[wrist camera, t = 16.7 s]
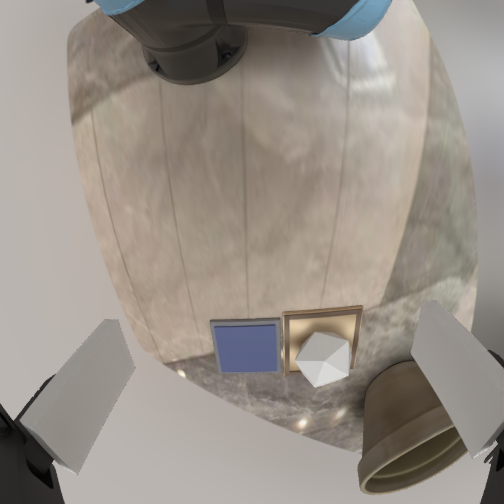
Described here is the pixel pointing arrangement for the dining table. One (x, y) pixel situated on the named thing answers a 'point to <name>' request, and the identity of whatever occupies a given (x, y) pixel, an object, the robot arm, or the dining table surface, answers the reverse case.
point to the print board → (322, 320)
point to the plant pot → (405, 432)
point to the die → (324, 358)
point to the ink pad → (247, 345)
